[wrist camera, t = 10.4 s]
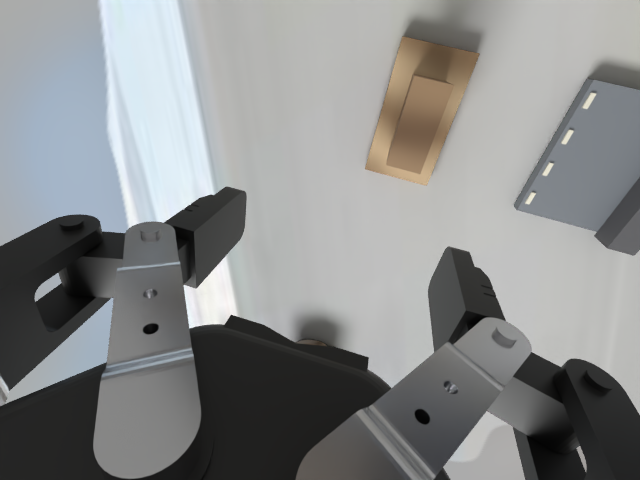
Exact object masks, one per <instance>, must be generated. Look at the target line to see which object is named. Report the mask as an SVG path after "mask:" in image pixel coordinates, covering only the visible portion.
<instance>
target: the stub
mask: <svg viewBox="0 0 640 480" xmlns="http://www.w3.org/2000/svg"><path fill="white" fill-rule="evenodd" d="M478 57H479V53H474V52H470V51H465V50H461V49H457V48H452V47H448V46H443V45H439V44H434V43H430V42H426V41H421V40H417V39H412V38H408V37H404V36H402V40H401V43H400V47H399V50H398V54H397V57H396V61H395V65H394V68H393V72H392V75H391V79H390V82H389V86H388V89H387V93H386V96H385V100H384V103H383V107H382V110H381V114H380V117H379V121H378V125H377V128H376V132H375V135H374V139H373V142H372V146H371V149H370V153H369V156H368V160H367V163H366V167H365V169H367V170H370V171H374V172H378V173H381V174H385V175H389V176H392V177H396V178H400V179H403V180H407V181H411V182H414V183H418V184H422V185H426V186H427V184H428V181H429V179H430V176H431V174H432V171H433V169H434V166H435V164H436V161H437V159H438V156H439V154H440V151H441V149H442V146H443V144H444V141H445V139H446V136H447V134H448V131H449V129H450V127H451V124H452V122H453V119H454V117H455V114H456V112H457V109H458V107H459V104H460V102H461V99H462V97H463V94H464V92H465V89H466V87H467V84H468V82H469V79H470V77H471V74H472V72H473V69H474V67H475V64H476V62H477V59H478Z"/></svg>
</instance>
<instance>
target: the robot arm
mask: <svg viewBox="0 0 640 480" xmlns="http://www.w3.org/2000/svg"><path fill="white" fill-rule="evenodd" d="M245 215H246V192H245V191H242V190H238V189H234V188H231V187H225V188H223V189H222V190H221V191H219V192H218V193H216V194H215V195H208V196H205V197H202V198H199V199H198V200H196V201H195V202H193V203H192V204H191V205H189V206H187V207H186V208H185V209H184V210H182V211H180V212H179V213H177V214H176V215H174V216H173V217H171V218H170V219H169V220H167V221H166V222H164V223H162V222H144V223H140V224H137V225H134V226H132V227H131V228H129V229H128V230H127V231H126V233H114V232H102V229H101V225H100V221H99V220H98V219H97V218H95V217H93V216H88V215H68V216H63V217H59V218H56V219H53V220H51V221H49V222H47V223H46V224H43V225H41V226H39V227H37V228H36V229H33V230H31V231H30V232H28V233H26V234H24V235H22V236H20V237H18V238H16V239H14V240H12V241H10V242H8V243H6V244H4V245H3V246H0V480H450V478H449V476H448V475H447V473H446V472H445V470H444V468H443V466H444V465H445V464H446V463H447V461H448V460H449V459H450V457H451V456H452V455H453V454H454V452H455V451H456V450H457V448H458V447H459V446H460V445H461V443H462V442H463V441H464V439H465V438H466V437H467V436H468V434H469V433H470V432H471V430H472V429H473V428H474V427H475V425H476V424H477V423H478V421H479V420H480V419H481V417H482V416H483V415H484V414H485V412H486V411H488V412H490V413H491V414H493V415H495V416H496V417H498V418H499V419H501V420H503V421H504V422H506V423H508V424H509V425H511V426H513V430H514V434H515V438H516V442H517V447H518V451H519V455H520V459H521V463H522V467H523V471H524V476H525V480H640V415H639V413H638V412H637V410H636V408H635V407H634V405H633V403H632V402H631V400H630V398H629V397H628V395H627V393H626V392H625V390H624V389H623V388H622V386H621V385H620V384H619V383H618V382H617V381H616V380H615V379H614V378H613V377H612V376H610V375H609V374H608V373H607V372H605V371H604V370H602V369H601V368H599V367H597V366H596V365H594V364H592V363H589V362H587V361H584V360H581V359H569V360H568V361H567V362H566V363H565V364H564V365H563V366H562V367H559V366H557V365H555V364H553V363H551V362H550V361H548V360H546V359H544V358H542V357H540V356H538V355H536V354H534V353H532V352H531V351H532V347H531V344H530V342H529V340H528V339H527V337H526V336H525V335H524V334H523V333H522V332H521V331H520V330H519V329H517V328H516V327H515V326H513V325H512V324H510V323H508V322H506V320H505V318H504V315H503V313H502V310H501V307H500V305H499V302H498V300H497V298H496V295H495V292H494V290H492V289H493V287H492V284H491V282H490V279H489V278H488V277H487V275H486V274H485V273H484V272H483V271H482V270H481V269H480V268H477V267H474V264H473V261H472V258H471V255H470V253H469V252H467V251H464V250H460V249H456V248H453V247H447V248H446V249H445V251H444V253H443V255H442V257H441V259H440V261H439V263H438V266H437V268H436V270H435V272H434V274H433V276H432V278H431V281H430V284H429V289H428V298H429V307H430V317H431V326H432V335H433V345H434V353H433V354H432V355H431V356H430V357H429V358H427V359H426V360H425V361H424V362H423V363H421V364H420V365H419V366H418V367H417V368H415V369H414V370H413V371H412V372H411V373H409V374H408V375H407V376H406V377H405V378H403V379H402V380H401V381H400V382H399V383H397V384H396V385H395V386H394V387H393V388H391V387H390V386H389V385H388V384H387V383H386V382H384V381H383V380H382V379H381V378H380V377H378V376H377V375H376V374H374V373H373V372H371V371H369V370H368V369H367V368H368V359H369V357H365V356H362V355H359V354H356V353H352V352H349V351H346V350H343V349H340V348H336V347H332V346H321V345H310V344H299V343H295V342H293V341H291V340H289V339H287V338H286V337H284V336H282V335H280V334H279V333H277V332H275V331H273V330H272V329H270V328H268V327H266V326H265V325H262V324H259V323H256V322H253V321H249V320H246V319H243V318H240V317H236V316H233V315H231V316H230V317H229V319H228V320H227V322H226V323H225V325H221V324H215V325H203V326H198V327H194V328H190V329H189V324H188V316H187V309H186V301H185V294H184V287H183V285H187V286H190V287H193V288H197V287H198V286H199V285H200V284H201V283H202V282H203V280H204V279H205V278H206V277H207V276H208V275H209V274H210V273H211V272H212V270H213V269H214V268H215V267H216V266H217V265H218V264H219V263H220V261H221V260H222V259H223V258H224V257H225V256H226V255H227V254H228V252H229V251H230V250H231V249H232V248H233V247H234V246H235V245H236V244H237V242H238V241H239V240H240V239H241V237H242V235H243V232H244V228H245ZM56 273H59V276H60V279H61V282H62V283H61V284H60V285H58V286H57V287H56V288H54V289H53V290H52V291H50V292H49V293H47V294H46V295H45V296H43V297H42V298H40V299H39V300H38V301H36V302H35V300H34V296H35V292H36V290H37V289H38V287H39V286H40V285H41V284H42V283H43V282H45V281H46V280H48V279H49V278H51V277H52V276H54V275H55V274H56ZM110 298H114V300H113V310H112V320H111V329H110V338H109V348H108V357H107V362H106V363H104V364H101V365H99V366H96V367H94V368H92V369H89V370H87V371H84V372H82V373H79V374H77V375H75V376H72V377H70V378H68V379H65V380H62V381H60V382H58V383H55V384H53V385H50V386H48V387H46V388H43V389H41V390H38V391H36V392H33V393H31V394H29V395H26V396H24V397H21V398H19V399H17V400H14V401H12V402H9V403H7V404H5V402H6V400H7V398H8V394H9V391H10V390H11V389H12V388H13V387H14V386H15V385H16V384H17V383H19V382H20V381H21V380H22V379H23V378H24V377H25V376H26V375H27V374H28V373H29V372H30V371H32V370H33V369H34V368H35V367H36V366H37V365H38V364H39V363H40V362H42V361H43V359H45V358H46V357H47V356H48V355H49V354H50V353H51V352H53V351H54V350H55V349H56V348H57V347H58V346H59V345H60V344H61V343H62V342H64V341H65V340H66V339H67V338H68V337H69V336H70V335H71V334H72V333H73V332H74V331H76V330H77V329H78V328H79V327H80V326H81V325H82V324H83V323H84V322H85V321H87V320H88V318H90V317H91V316H92V315H93V314H94V313H95V312H96V311H98V309H100V308H101V307H102V306H103V305H104V304H105V303H106V302H107V301H109V300H110ZM578 446H581V449H582V451H583V454H584V456H585V459H586V464H587V472H585V470H584V467H583V465H582V462H581V459H580V457H579V454H578V452H577V449H576V448H577V447H578Z"/></svg>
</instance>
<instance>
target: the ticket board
mask: <svg viewBox="0 0 640 480" xmlns="http://www.w3.org/2000/svg"><path fill="white" fill-rule="evenodd" d="M514 207H515V208H516V209H517V210H519V211H522V212H526V213H530V214H533V215H537V216H541V217H545V218H548V219H552V220H556V221H559V222H563V223H567V224H570V225H574V226H578V227H581V228H585V229H589V230H592V231H596V232H597V233H596V234H595V237H596V238H597V239H598V240H599V241H600V242H601V243H602V244H603V245H604V246H605V247H606V248H608V249H612V250H615V251H619V252H623V253H626V254H630V255H635V254H636V253H637V252H638V251H639V250H640V90H637V89H633V88H628V87H624V86H620V85H615V84H611V83H606V82H602V81H597V80H592V79H586V81H585V83H584V85H583V86H582V88H581V90H580V91H579V93H578V95H577V97H576V98H575V100H574V102H573V104H572V105H571V107H570V109H569V110H568V112H567V114H566V116H565V117H564V119H563V121H562V123H561V124H560V126H559V128H558V129H557V131H556V133H555V135H554V136H553V138H552V140H551V142H550V143H549V145H548V147H547V148H546V150H545V152H544V154H543V155H542V157H541V159H540V161H539V162H538V164H537V166H536V167H535V169H534V171H533V173H532V174H531V176H530V178H529V180H528V181H527V183H526V185H525V186H524V188H523V190H522V192H521V193H520V195H519V197H518V199H517V200H516V202H515V204H514Z"/></svg>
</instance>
